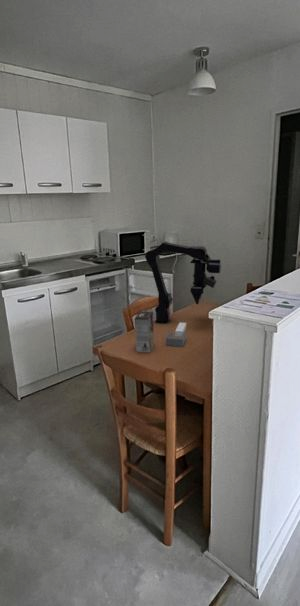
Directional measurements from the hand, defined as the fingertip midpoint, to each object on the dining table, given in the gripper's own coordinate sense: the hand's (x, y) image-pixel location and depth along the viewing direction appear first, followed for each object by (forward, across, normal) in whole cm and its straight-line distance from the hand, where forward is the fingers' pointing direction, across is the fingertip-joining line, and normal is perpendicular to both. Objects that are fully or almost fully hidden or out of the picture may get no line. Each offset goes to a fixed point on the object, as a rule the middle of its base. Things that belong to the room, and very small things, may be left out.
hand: (198, 301), depth 184 cm
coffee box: (+13, -34, +19) cm, 41 cm away
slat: (+13, -12, +7) cm, 19 cm away
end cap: (+13, -24, +7) cm, 28 cm away
